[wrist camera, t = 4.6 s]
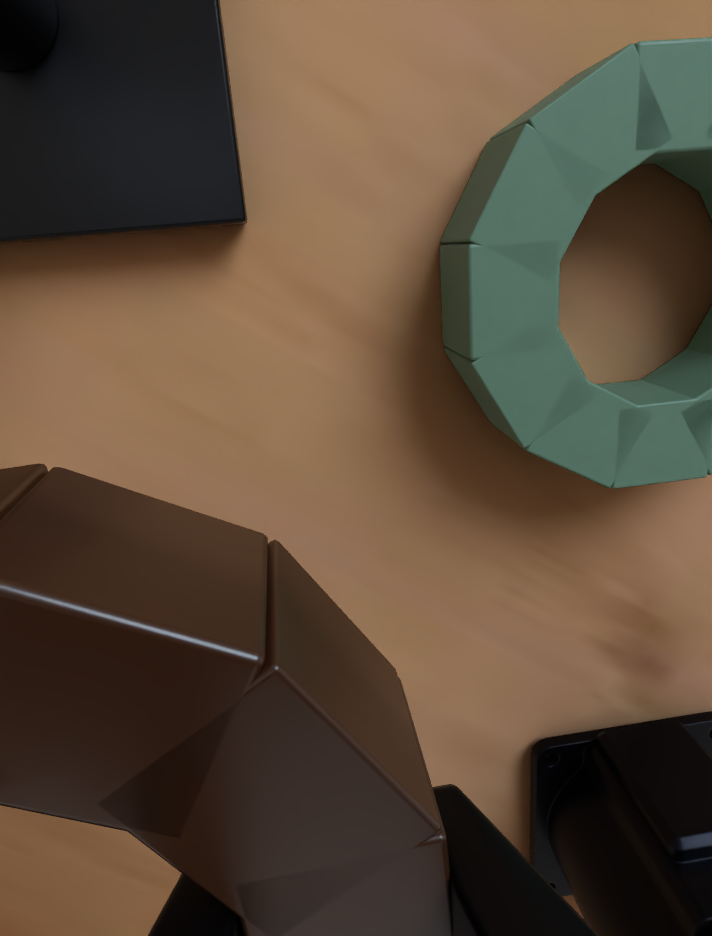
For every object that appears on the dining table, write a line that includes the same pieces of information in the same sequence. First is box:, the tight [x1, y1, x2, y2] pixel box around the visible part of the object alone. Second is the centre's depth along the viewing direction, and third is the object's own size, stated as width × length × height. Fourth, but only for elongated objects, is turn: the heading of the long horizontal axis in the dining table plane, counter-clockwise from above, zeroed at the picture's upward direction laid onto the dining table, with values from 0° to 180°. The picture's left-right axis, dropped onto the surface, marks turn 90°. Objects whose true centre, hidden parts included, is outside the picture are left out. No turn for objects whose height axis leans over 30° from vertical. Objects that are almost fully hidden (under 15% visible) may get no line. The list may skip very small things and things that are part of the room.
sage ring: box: [440, 37, 712, 489], centre depth 15 cm, size 9×9×2 cm
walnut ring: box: [0, 464, 453, 936], centre depth 7 cm, size 9×9×2 cm
